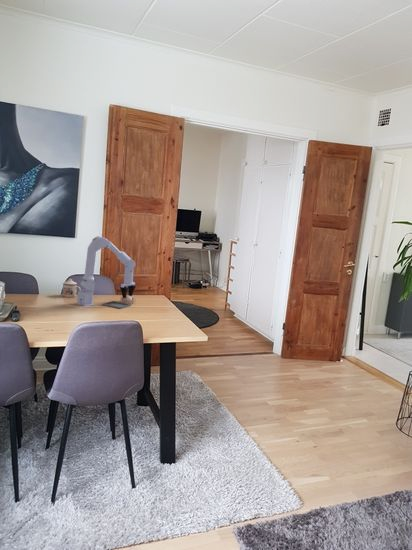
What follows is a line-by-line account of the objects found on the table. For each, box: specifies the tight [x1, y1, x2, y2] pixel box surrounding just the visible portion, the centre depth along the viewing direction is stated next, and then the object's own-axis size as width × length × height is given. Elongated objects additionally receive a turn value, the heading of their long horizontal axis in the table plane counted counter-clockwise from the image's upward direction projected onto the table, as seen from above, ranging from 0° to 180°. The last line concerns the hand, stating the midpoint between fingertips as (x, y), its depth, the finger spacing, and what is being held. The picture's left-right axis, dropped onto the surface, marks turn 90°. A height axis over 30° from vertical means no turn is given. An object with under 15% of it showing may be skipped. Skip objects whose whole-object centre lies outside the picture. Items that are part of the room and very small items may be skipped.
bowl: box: [119, 296, 137, 305], centre depth 283 cm, size 10×10×3 cm
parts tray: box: [101, 300, 132, 310], centre depth 271 cm, size 12×14×2 cm
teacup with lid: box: [62, 278, 82, 298], centre depth 286 cm, size 12×9×12 cm
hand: (127, 296), depth 284 cm, fingers open, 7 cm apart
